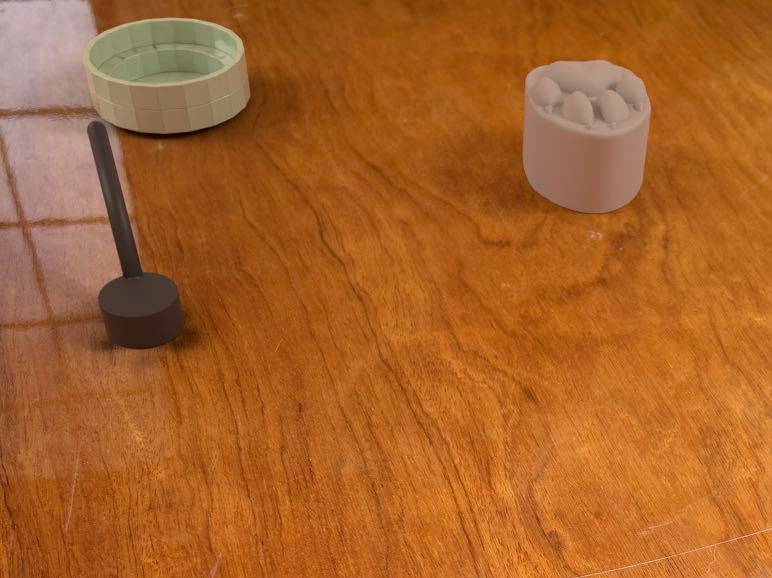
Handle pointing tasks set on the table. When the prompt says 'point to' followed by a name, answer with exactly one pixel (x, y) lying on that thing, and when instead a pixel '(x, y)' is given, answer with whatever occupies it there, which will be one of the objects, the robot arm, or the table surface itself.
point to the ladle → (131, 269)
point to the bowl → (167, 75)
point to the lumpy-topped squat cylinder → (585, 134)
